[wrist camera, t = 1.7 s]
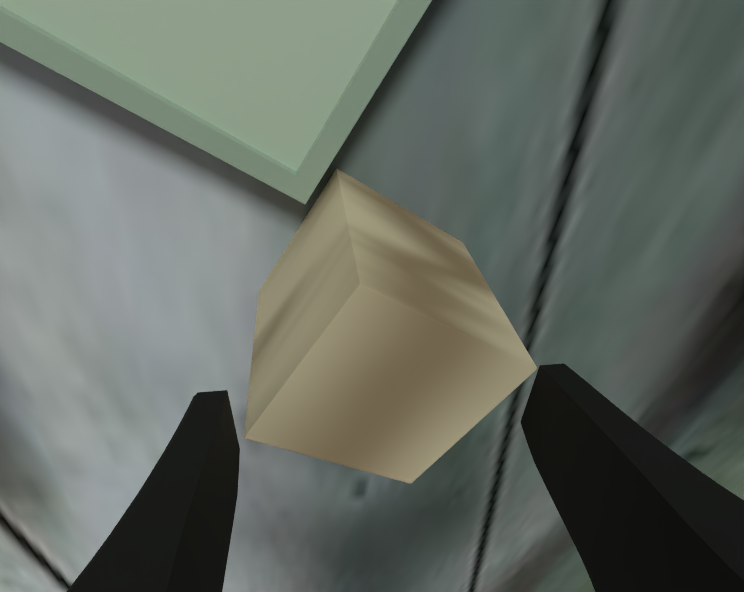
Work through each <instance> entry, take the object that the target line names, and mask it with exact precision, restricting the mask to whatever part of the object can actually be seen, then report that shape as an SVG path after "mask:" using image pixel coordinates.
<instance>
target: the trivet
mask: <svg viewBox="0 0 744 592" xmlns="http://www.w3.org/2000/svg"><path fill="white" fill-rule="evenodd" d="M431 1H432V0H0V42H1V43H3V44H5V45H7V46H8V47H10V48H12V49H14V50H16V51H18V52H20V53H22V54H23V55H25V56H27V57H29V58H31V59H33V60H35V61H37V62H39V63H40V64H42V65H44V66H46V67H48V68H50V69H52V70H54V71H55V72H57V73H59V74H61V75H63V76H65V77H67V78H69V79H70V80H72V81H74V82H76V83H78V84H80V85H82V86H84V87H85V88H87V89H89V90H91V91H93V92H95V93H97V94H99V95H100V96H102V97H104V98H106V99H108V100H110V101H112V102H114V103H115V104H117V105H119V106H121V107H123V108H125V109H127V110H129V111H130V112H132V113H134V114H136V115H138V116H140V117H142V118H144V119H146V120H147V121H149V122H151V123H153V124H155V125H157V126H159V127H161V128H162V129H164V130H166V131H168V132H170V133H172V134H174V135H176V136H177V137H179V138H181V139H183V140H185V141H187V142H189V143H191V144H192V145H194V146H196V147H198V148H200V149H202V150H204V151H206V152H207V153H209V154H211V155H213V156H215V157H217V158H219V159H221V160H222V161H224V162H226V163H228V164H230V165H232V166H234V167H236V168H237V169H239V170H241V171H243V172H245V173H247V174H249V175H251V176H253V177H254V178H256V179H258V180H260V181H262V182H264V183H266V184H268V185H269V186H271V187H273V188H275V189H277V190H279V191H281V192H283V193H284V194H286V195H288V196H290V197H292V198H294V199H296V200H298V201H299V202H301V203H303V204H306V202H307V201H308V199H309V198H310V196H311V194H312V193H313V191H314V190H315V188H316V186H317V185H318V183H319V181H320V180H321V178H322V177H323V175H324V173H325V172H326V170H327V169H328V167H329V165H330V164H331V162H332V161H333V159H334V157H335V156H336V154H337V152H338V151H339V149H340V148H341V146H342V144H343V143H344V141H345V140H346V138H347V136H348V135H349V133H350V132H351V130H352V128H353V127H354V125H355V123H356V122H357V120H358V119H359V117H360V115H361V114H362V112H363V111H364V109H365V107H366V106H367V104H368V103H369V101H370V99H371V98H372V96H373V94H374V93H375V91H376V90H377V88H378V86H379V85H380V83H381V82H382V80H383V78H384V77H385V75H386V74H387V72H388V70H389V69H390V67H391V65H392V64H393V62H394V61H395V59H396V57H397V56H398V54H399V53H400V51H401V49H402V48H403V46H404V45H405V43H406V41H407V40H408V38H409V37H410V35H411V33H412V32H413V30H414V28H415V27H416V25H417V24H418V22H419V20H420V19H421V17H422V16H423V14H424V12H425V11H426V9H427V8H428V6H429V4H430V3H431Z"/></svg>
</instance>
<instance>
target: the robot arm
mask: <svg viewBox="0 0 744 592" xmlns="http://www.w3.org/2000/svg"><path fill="white" fill-rule="evenodd" d="M521 425H522V428H523V431H524V434H525V437H526V440H527V443H528V446H529V449H530V451H531V454H532V457H533V460H534V462H535V464H536V467H537V469H538V471H539V473H540V475H541V477H542V479H543V481H544V483H545V485H546V487H547V489H548V492H549V494H550V496H551V498H552V500H553V502H554V504H555V506H556V508H557V510H558V512H559V514H560V516H561V518H562V520H563V522H564V524H565V526H566V528H567V530H568V532H569V534H570V536H571V538H572V540H573V542H574V544H575V546H576V548H577V550H578V552H579V554H580V556H581V559H582V561H583V563H584V565H585V567H586V570H587V572H588V574H589V577H590V579H591V582H592V584H593V587H594V589H595V592H744V500H742V499H741V498H739V497H738V496H736V495H735V494H733V493H731V492H730V491H728V490H727V489H725V488H724V487H722V486H721V485H719V484H718V483H716V482H715V481H714V480H712V479H711V478H709V477H708V476H706V475H705V474H703V473H702V472H701V471H699V470H698V469H696V468H695V467H694V466H692V465H691V464H690V463H688V462H687V461H686V460H684V459H683V458H681V457H680V456H679V455H677V454H676V453H675V452H673V451H672V450H671V449H669V448H668V447H667V446H665V445H664V444H663V443H661V442H660V441H659V440H658V439H656V438H655V437H654V436H652V435H651V434H650V433H649V432H647V431H646V430H645V429H643V428H642V427H641V426H640V425H638V424H637V423H636V422H635V421H633V420H632V419H631V418H630V417H629V416H627V415H626V414H625V413H624V412H622V411H621V410H620V409H619V408H618V407H616V406H615V405H614V404H613V403H611V402H610V401H609V400H608V399H607V398H605V397H604V396H603V395H602V394H601V393H599V392H598V391H597V390H596V389H595V388H593V387H592V386H591V385H590V384H589V383H587V382H586V381H585V380H584V379H583V378H581V377H580V376H579V375H578V374H576V373H575V372H574V371H573V370H571V369H570V368H569V367H568V366H566V365H565V364H553V365H540V367H539V369H538V372H537V375H536V378H535V381H534V384H533V387H532V390H531V393H530V396H529V399H528V402H527V405H526V408H525V410H524V413H523V416H522V419H521ZM239 453H240V448H239V443H238V439H237V434H236V429H235V425H234V420H233V415H232V411H231V406H230V401H229V396H228V392H227V390H225V391H212V392H199V393H197V394H196V395H195V396H194V397H193V399H192V401H191V403H190V405H189V407H188V409H187V411H186V413H185V415H184V417H183V419H182V420H181V422H180V424H179V426H178V428H177V430H176V431H175V433H174V435H173V437H172V439H171V440H170V442H169V444H168V445H167V447H166V449H165V451H164V452H163V454H162V456H161V457H160V459H159V461H158V462H157V464H156V465H155V467H154V469H153V470H152V472H151V474H150V475H149V477H148V478H147V480H146V482H145V483H144V485H143V486H142V488H141V490H140V491H139V493H138V494H137V496H136V497H135V499H134V500H133V502H132V503H131V504H130V506H129V507H128V509H127V510H126V512H125V513H124V515H123V516H122V518H121V519H120V521H119V522H118V523H117V525H116V526H115V528H114V529H113V531H112V532H111V534H110V535H109V536H108V538H107V539H106V541H105V542H104V543H103V545H102V546H101V547H100V549H99V550H98V552H97V553H96V554H95V556H94V557H93V558H92V560H91V561H90V562H89V564H88V565H87V566H86V567H85V569H84V570H83V571H82V573H81V574H80V575H79V576H78V578H77V579H76V580H75V582H74V583H73V584H72V585H71V587H70V588H69V589H68V591H67V592H222V589H223V583H224V576H225V570H226V564H227V558H228V551H229V545H230V539H231V533H232V526H233V520H234V513H235V507H236V500H237V492H238V475H239Z"/></svg>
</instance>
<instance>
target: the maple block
mask: <svg viewBox="0 0 744 592" xmlns="http://www.w3.org/2000/svg"><path fill="white" fill-rule="evenodd" d="M536 369H537V367H536V365H535V364H534V362H533V360H532V359H531V357H530V355H529V354H528V352H527V350H526V349H525V347H524V345H523V344H522V342H521V340H520V338H519V337H518V335H517V333H516V332H515V330H514V328H513V327H512V325H511V323H510V322H509V320H508V318H507V316H506V315H505V313H504V311H503V310H502V308H501V306H500V305H499V303H498V301H497V300H496V298H495V296H494V294H493V293H492V291H491V289H490V288H489V286H488V284H487V283H486V281H485V279H484V278H483V276H482V274H481V273H480V271H479V269H478V267H477V266H476V264H475V262H474V261H473V259H472V257H471V256H470V254H469V252H468V251H467V249H466V247H465V245H464V244H463V243H462V242H461V241H459V240H457V239H455V238H454V237H452V236H450V235H449V234H447V233H445V232H444V231H442V230H440V229H439V228H437V227H435V226H433V225H432V224H430V223H428V222H427V221H425V220H423V219H422V218H420V217H418V216H416V215H415V214H413V213H411V212H410V211H408V210H406V209H405V208H403V207H401V206H400V205H398V204H396V203H394V202H393V201H391V200H389V199H388V198H386V197H384V196H383V195H381V194H379V193H377V192H376V191H374V190H372V189H371V188H369V187H367V186H366V185H364V184H362V183H361V182H359V181H357V180H355V179H354V178H352V177H350V176H349V175H347V174H345V173H344V172H342V171H340V170H338V169H337V168H336V170H335V171H334V173H333V175H332V176H331V178H330V179H329V181H328V183H327V184H326V186H325V187H324V189H323V190H322V192H321V194H320V195H319V197H318V198H317V200H316V202H315V203H314V205H313V206H312V208H311V209H310V211H309V213H308V214H307V216H306V217H305V219H304V221H303V222H302V224H301V225H300V227H299V228H298V230H297V232H296V233H295V235H294V236H293V238H292V240H291V241H290V243H289V244H288V246H287V248H286V249H285V251H284V252H283V254H282V255H281V257H280V259H279V260H278V262H277V263H276V265H275V267H274V268H273V270H272V271H271V273H270V274H269V276H268V278H267V279H266V281H265V282H264V284H263V286H262V287H261V289H260V290H259V295H258V305H257V314H256V324H255V334H254V344H253V354H252V363H251V373H250V383H249V393H248V403H247V413H246V422H245V432H244V438H246V439H250V440H254V441H257V442H261V443H265V444H268V445H272V446H276V447H279V448H283V449H286V450H290V451H294V452H297V453H301V454H305V455H308V456H312V457H316V458H319V459H323V460H326V461H330V462H334V463H337V464H341V465H345V466H348V467H352V468H356V469H359V470H363V471H367V472H370V473H374V474H377V475H381V476H385V477H388V478H392V479H396V480H399V481H403V482H407V483H410V484H411V483H412V482H413V481H414V480H416V479H417V478H418V477H419V476H420V475H421V474H422V473H423V472H424V471H425V470H427V469H428V468H429V467H430V466H431V465H432V464H433V463H434V462H435V461H436V460H438V459H439V458H440V457H441V456H442V455H443V454H444V453H445V452H446V451H447V450H448V449H450V448H451V447H452V446H453V445H454V444H455V443H456V442H457V441H458V440H459V439H461V438H462V437H463V436H464V435H465V434H466V433H467V432H468V431H469V430H470V429H472V428H473V427H474V426H475V425H476V424H477V423H478V422H479V421H480V420H481V419H482V418H484V417H485V416H486V415H487V414H488V413H489V412H490V411H491V410H492V409H493V408H495V407H496V406H497V405H498V404H499V403H500V402H501V401H502V400H503V399H504V398H506V397H507V396H508V395H509V394H510V393H511V392H512V391H513V390H514V389H515V388H517V387H518V386H519V385H520V384H521V383H522V382H523V381H524V380H525V379H526V378H527V377H529V376H530V375H531V374H532V373H533V372H534V371H535V370H536Z"/></svg>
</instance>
